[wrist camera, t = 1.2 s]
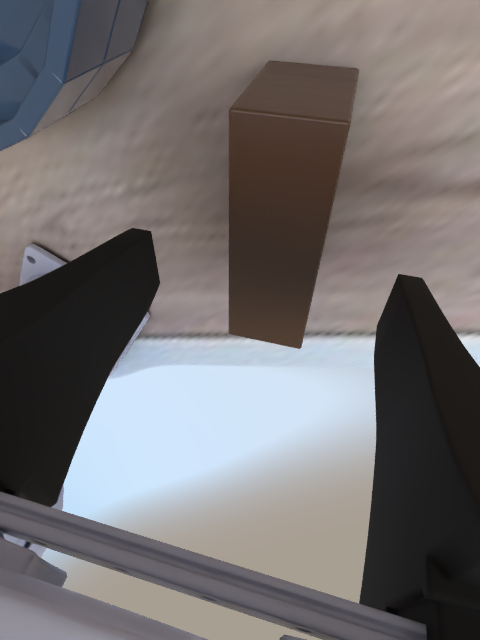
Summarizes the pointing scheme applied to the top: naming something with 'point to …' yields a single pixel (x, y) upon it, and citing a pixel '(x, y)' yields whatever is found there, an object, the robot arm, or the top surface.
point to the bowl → (58, 58)
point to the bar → (283, 193)
